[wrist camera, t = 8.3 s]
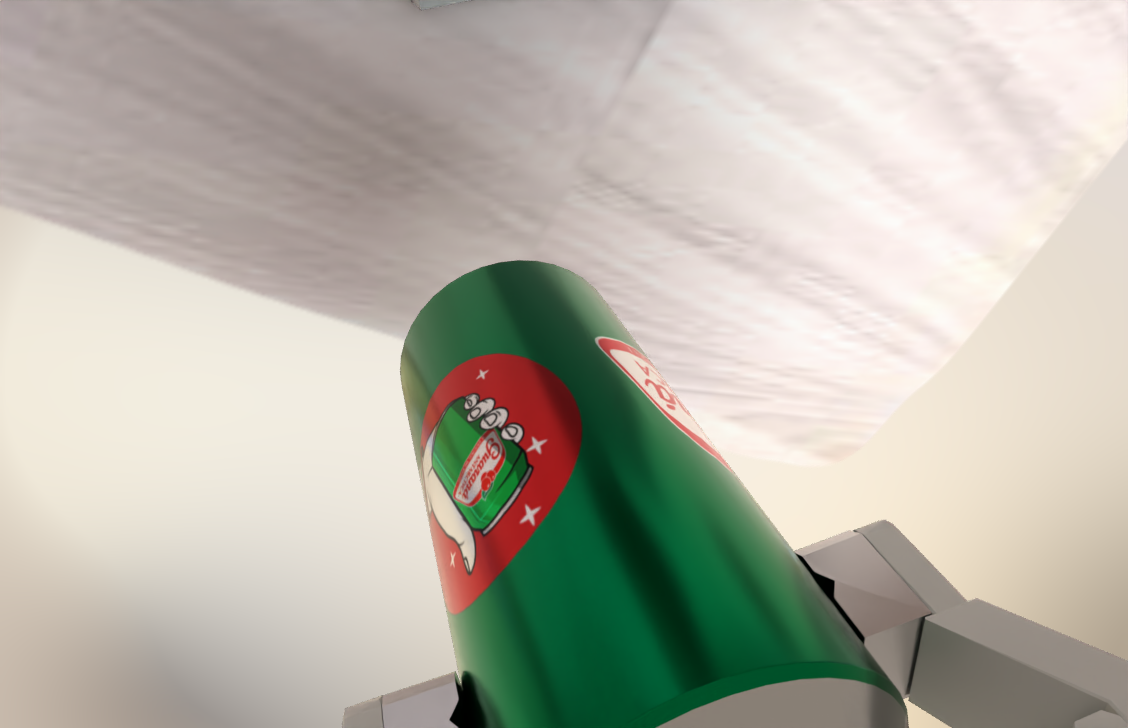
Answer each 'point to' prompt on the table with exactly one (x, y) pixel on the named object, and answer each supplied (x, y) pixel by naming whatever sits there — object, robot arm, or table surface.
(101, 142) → the table surface
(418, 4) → the tray
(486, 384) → the soda can
